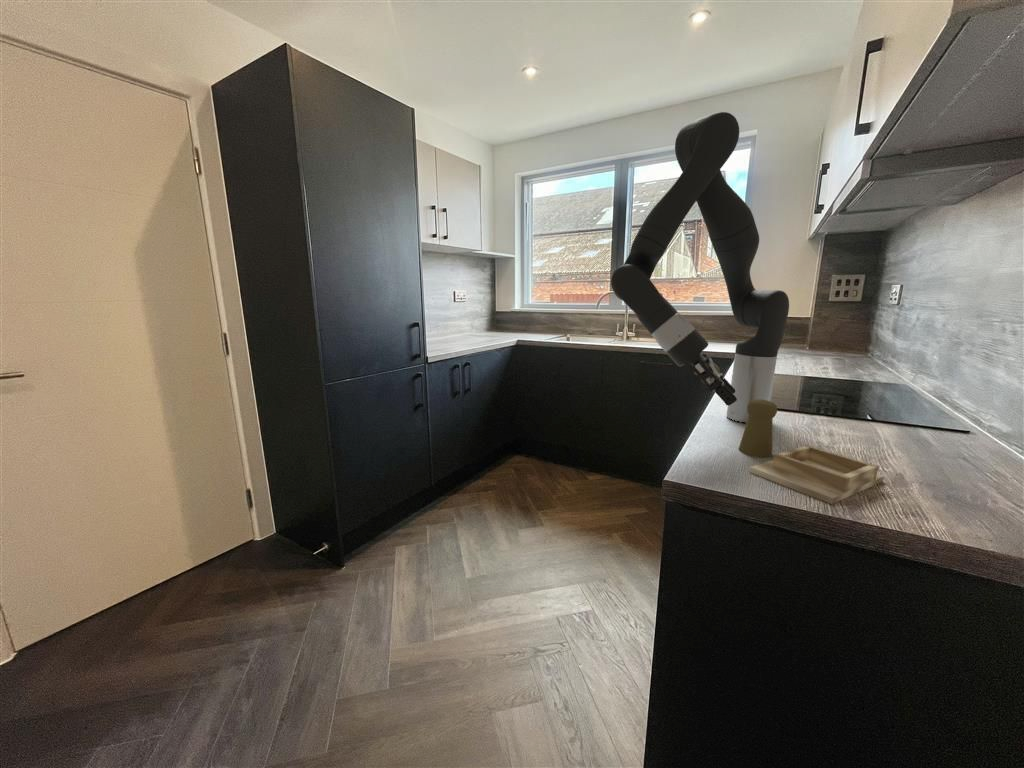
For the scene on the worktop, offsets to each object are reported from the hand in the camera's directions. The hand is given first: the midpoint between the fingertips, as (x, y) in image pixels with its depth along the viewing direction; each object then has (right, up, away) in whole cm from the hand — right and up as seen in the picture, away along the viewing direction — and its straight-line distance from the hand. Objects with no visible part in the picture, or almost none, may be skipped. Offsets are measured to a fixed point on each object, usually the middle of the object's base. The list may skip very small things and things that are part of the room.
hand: (732, 398), depth 83 cm
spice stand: (+9, -14, -11) cm, 20 cm away
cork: (+5, -11, 0) cm, 12 cm away
